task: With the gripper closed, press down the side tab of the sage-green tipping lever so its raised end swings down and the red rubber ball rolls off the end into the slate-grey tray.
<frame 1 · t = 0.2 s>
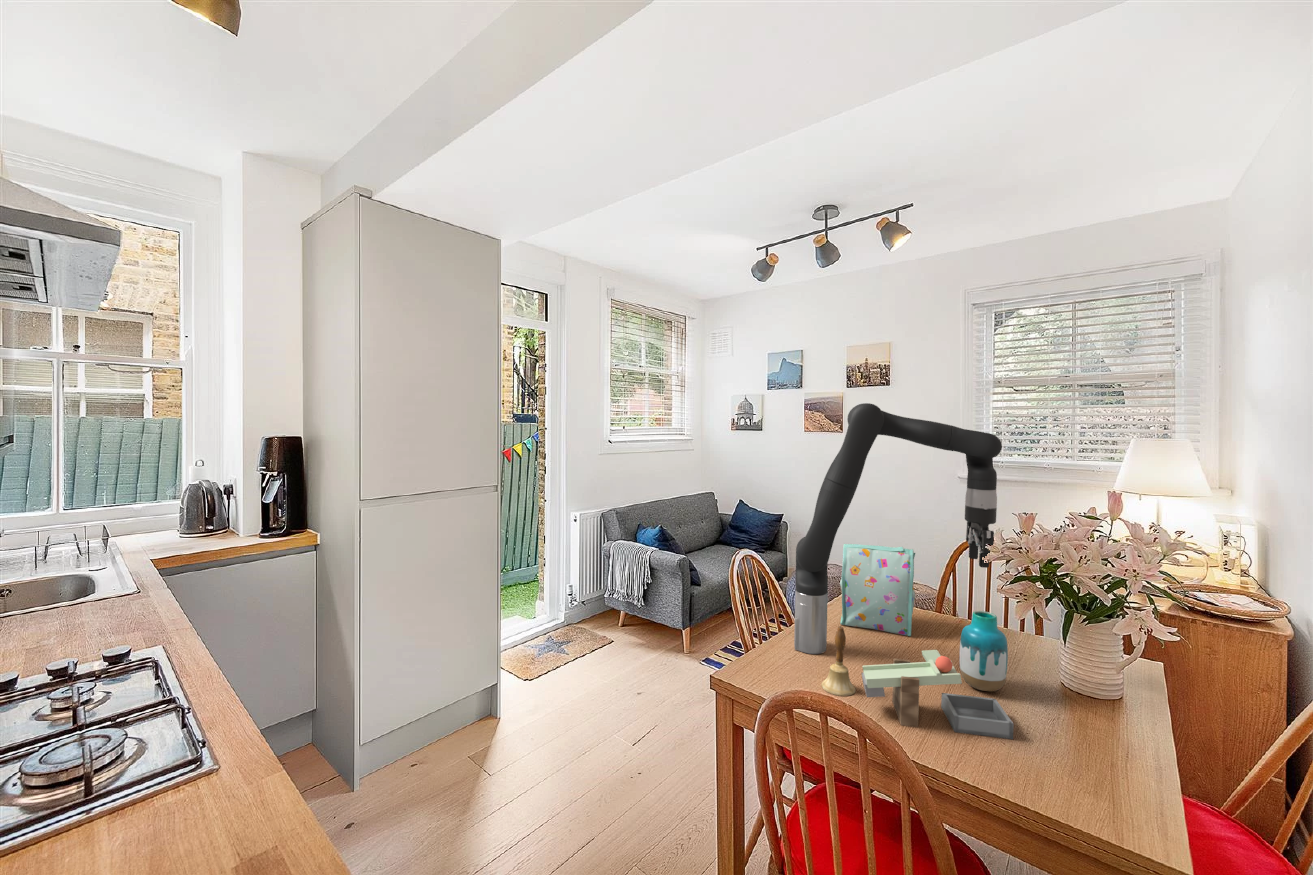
hand: (978, 562, 153), 29 cm above the table, fingers open, 8 cm apart
hand bell: (838, 688, 141), on the table
lever: (905, 669, 133), point 9 cm above the table, hinge at -10.0°, touching ball
fulcrum: (904, 713, 129), on the table
ball: (943, 664, 127), point 13 cm above the table, tilted 7°, touching lever
tray: (975, 722, 126), on the table
lunch bag: (875, 625, 183), on the table
vase: (982, 688, 142), on the table
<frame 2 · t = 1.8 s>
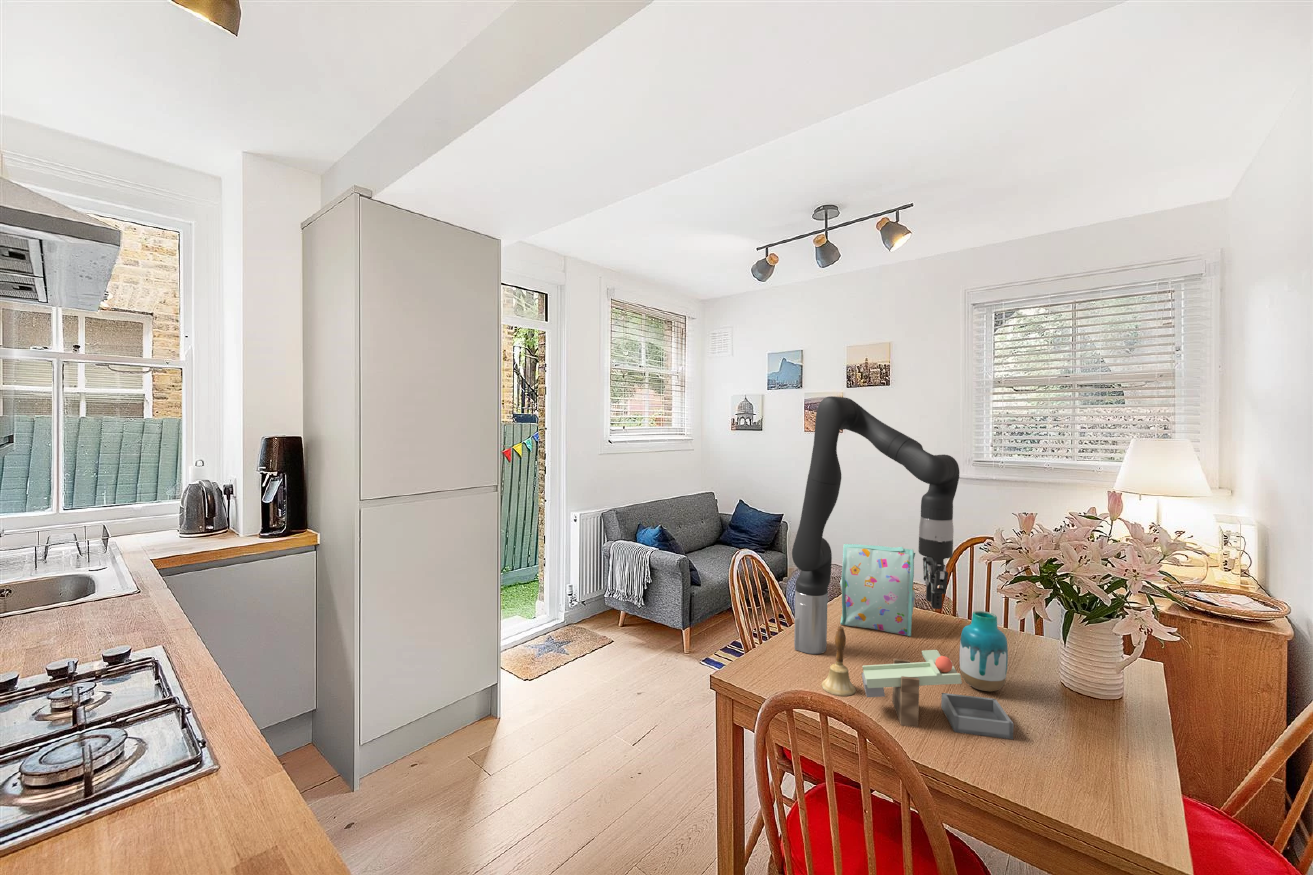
hand: (933, 604, 136), 23 cm above the table, fingers open, 4 cm apart
nothing on the table moved.
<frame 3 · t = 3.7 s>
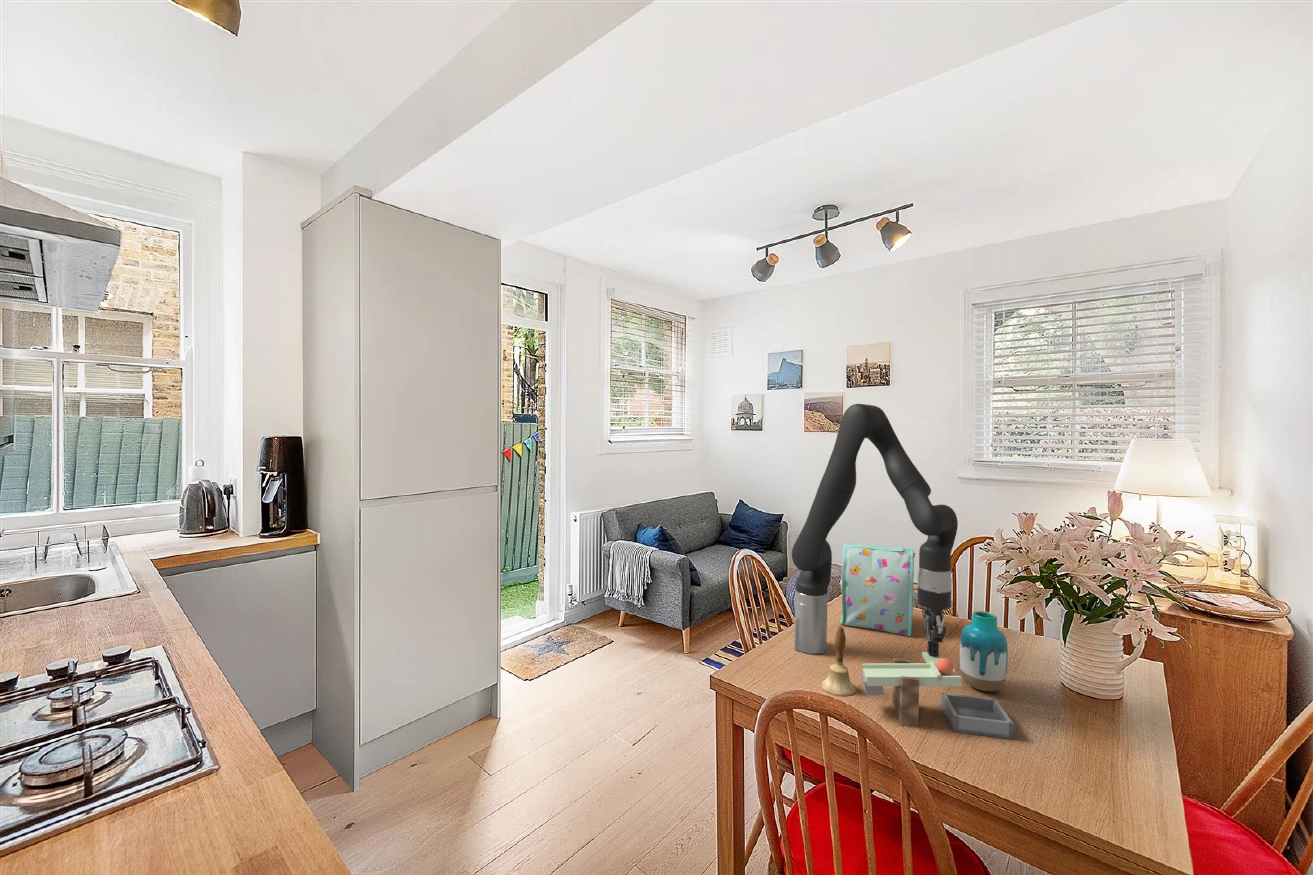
hand: (932, 655, 137), 11 cm above the table, fingers closed
lever: (905, 669, 133), point 9 cm above the table, hinge at -6.6°, touching ball, gripper
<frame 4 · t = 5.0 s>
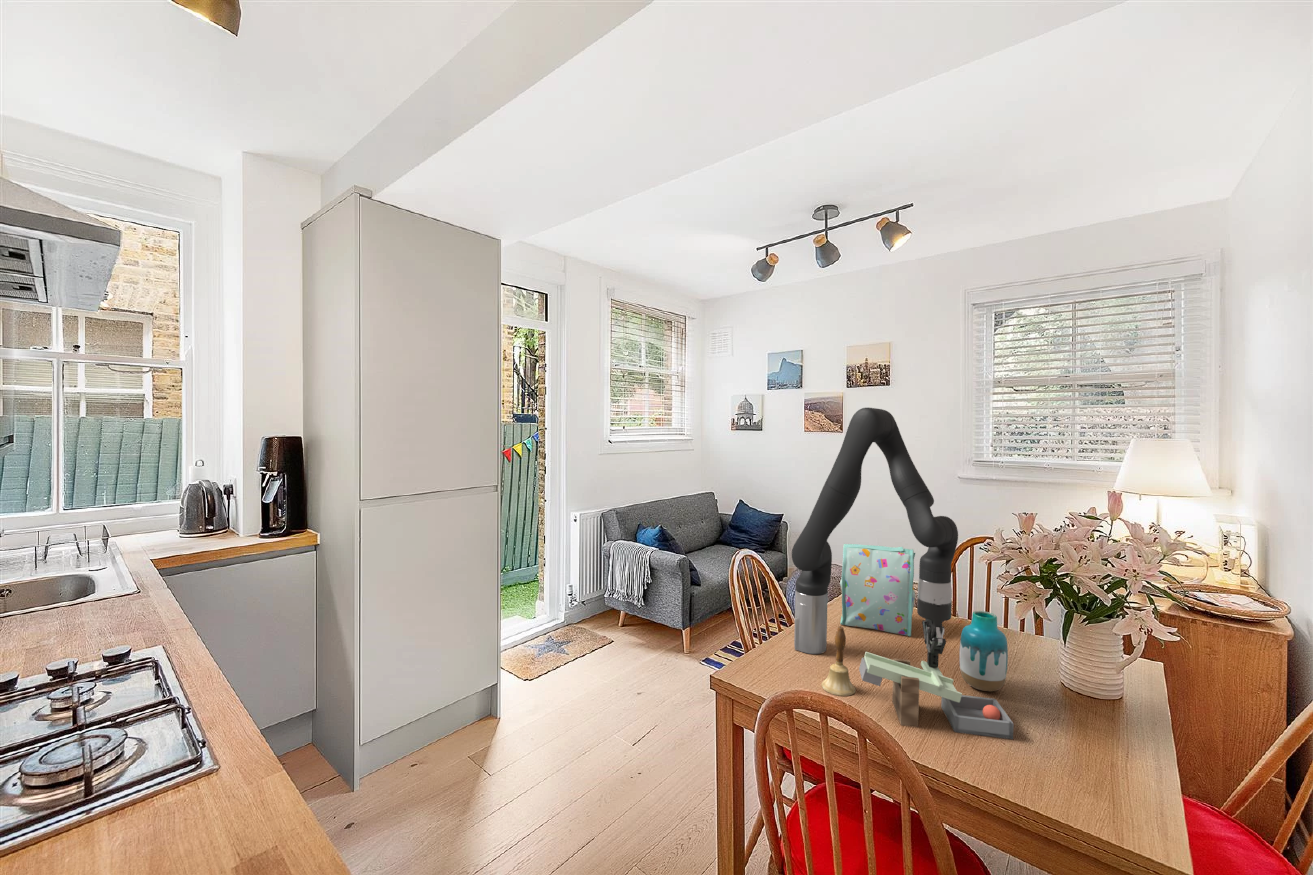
hand: (932, 666, 137), 8 cm above the table, fingers closed
lever: (904, 670, 133), point 8 cm above the table, hinge at 13.3°, touching gripper
ball: (991, 713, 125), point 3 cm above the table, tilted 6°, touching tray
everything else where it was.
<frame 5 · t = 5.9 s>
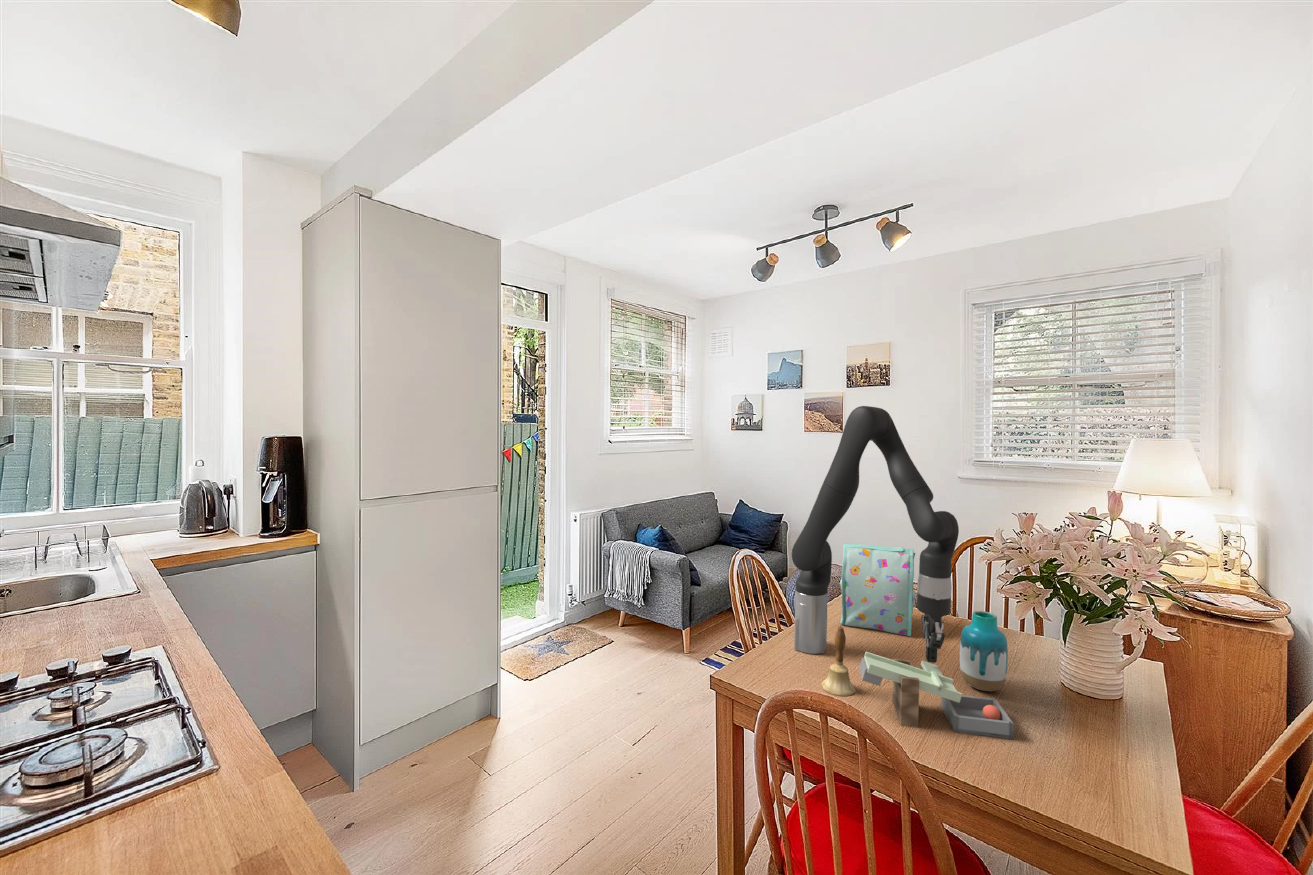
hand: (931, 660, 137), 9 cm above the table, fingers closed
lever: (904, 670, 133), point 8 cm above the table, hinge at 13.4°
everything else where it was.
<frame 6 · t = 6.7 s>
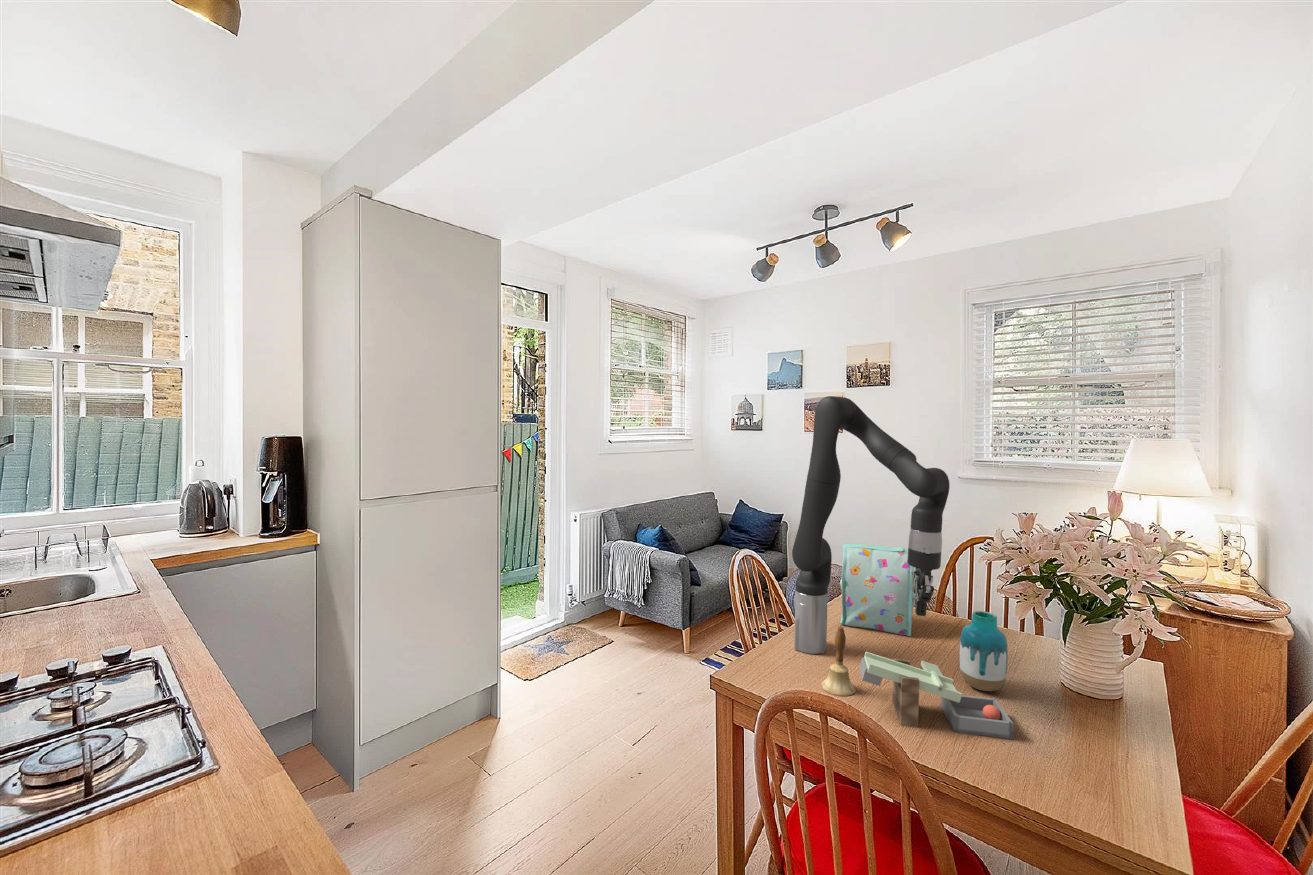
hand: (920, 614, 140), 19 cm above the table, fingers closed
nothing on the table moved.
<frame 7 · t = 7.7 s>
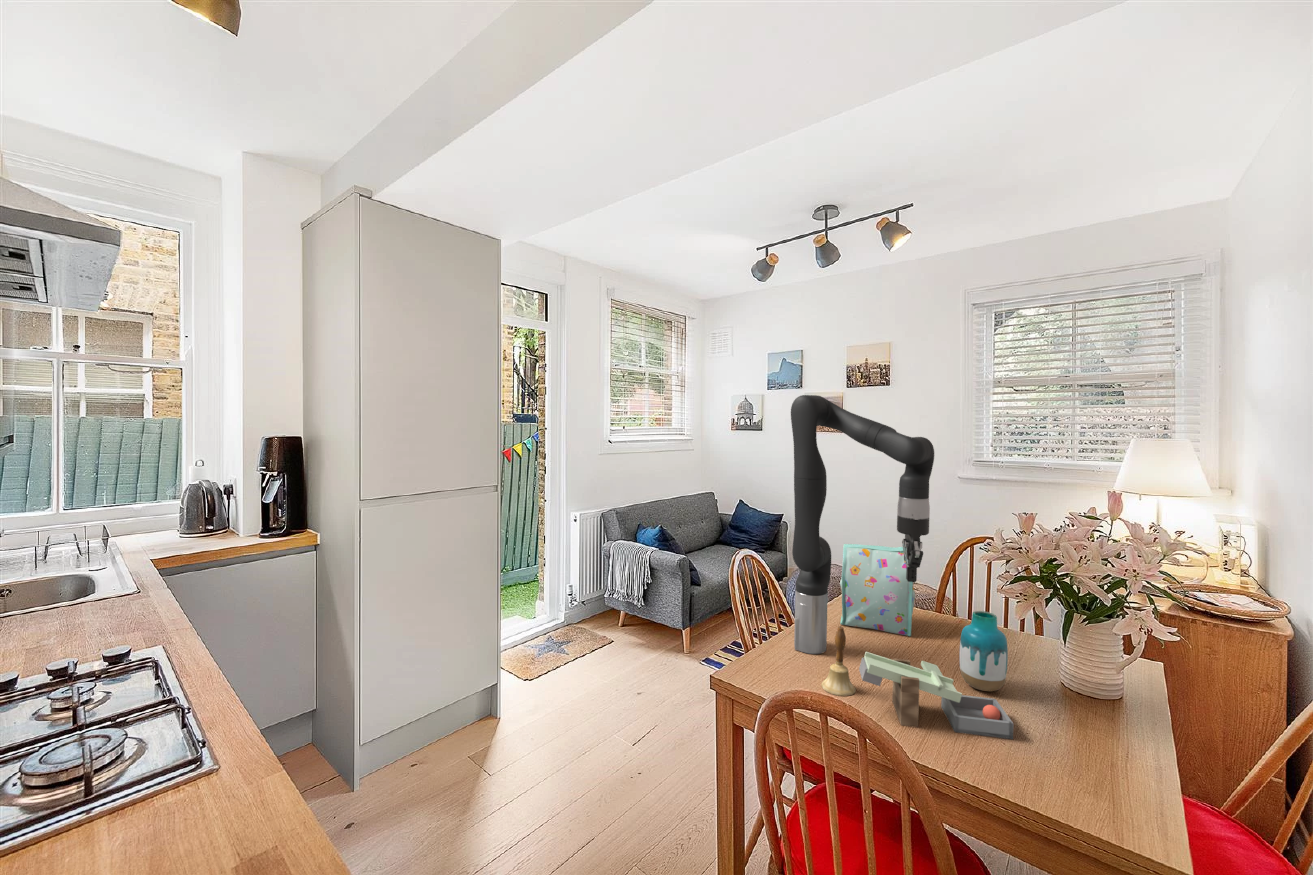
hand: (911, 581, 143), 27 cm above the table, fingers closed
nothing on the table moved.
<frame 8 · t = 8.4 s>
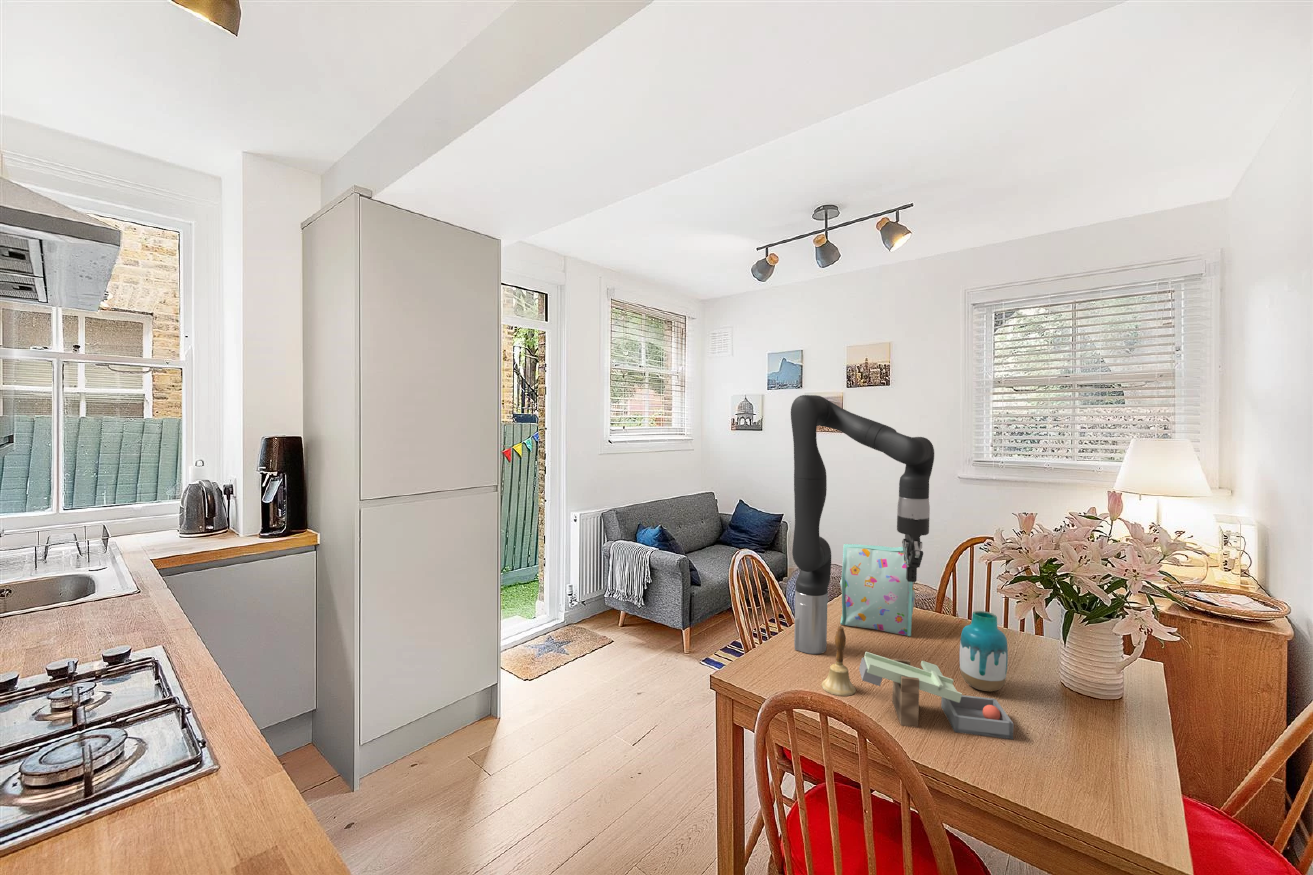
hand: (911, 581, 143), 27 cm above the table, fingers closed
nothing on the table moved.
at the end: ball inside the target area on the tray (3.2 cm from its centre), point 2.5 cm above the tray's base; ball touching tray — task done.
